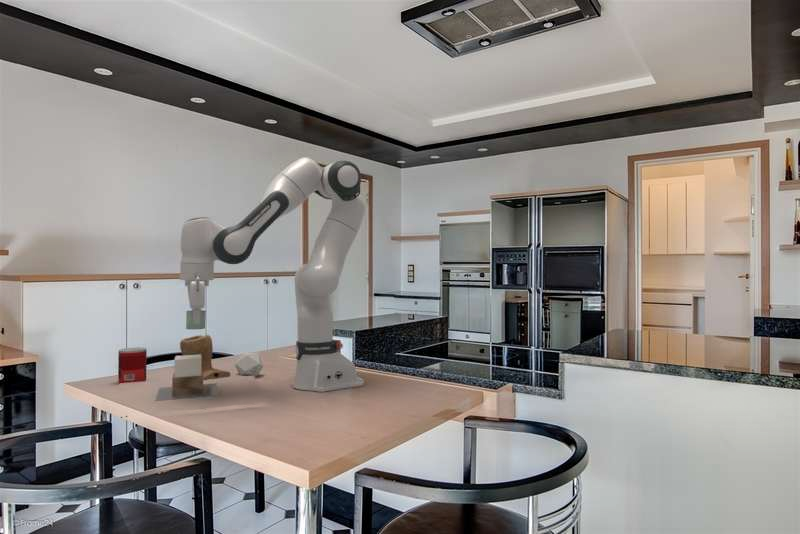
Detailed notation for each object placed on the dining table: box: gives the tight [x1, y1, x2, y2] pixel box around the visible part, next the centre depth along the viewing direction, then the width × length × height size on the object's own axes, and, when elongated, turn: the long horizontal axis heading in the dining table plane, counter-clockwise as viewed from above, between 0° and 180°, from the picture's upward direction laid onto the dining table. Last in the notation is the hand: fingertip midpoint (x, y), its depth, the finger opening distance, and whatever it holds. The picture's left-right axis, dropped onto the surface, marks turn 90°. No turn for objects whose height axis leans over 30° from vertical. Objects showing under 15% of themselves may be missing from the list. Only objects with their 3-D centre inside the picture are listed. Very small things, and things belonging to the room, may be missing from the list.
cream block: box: [173, 355, 201, 378], centre depth 140 cm, size 7×7×5 cm
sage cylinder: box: [185, 309, 207, 330], centre depth 137 cm, size 5×5×5 cm
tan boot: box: [179, 334, 231, 381], centre depth 161 cm, size 15×12×15 cm
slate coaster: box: [154, 382, 219, 402], centre depth 140 cm, size 16×16×1 cm
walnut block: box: [171, 371, 204, 396], centre depth 140 cm, size 8×8×5 cm
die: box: [234, 352, 264, 378], centre depth 166 cm, size 8×9×10 cm
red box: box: [117, 346, 148, 385], centre depth 157 cm, size 8×8×11 cm
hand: (196, 322), depth 137 cm, fingers closed on sage cylinder, 5 cm apart
